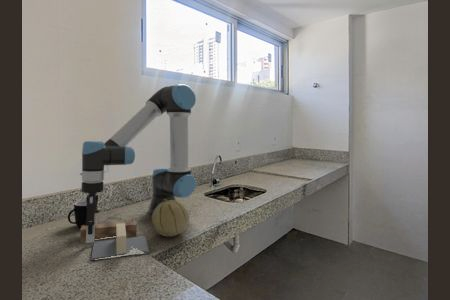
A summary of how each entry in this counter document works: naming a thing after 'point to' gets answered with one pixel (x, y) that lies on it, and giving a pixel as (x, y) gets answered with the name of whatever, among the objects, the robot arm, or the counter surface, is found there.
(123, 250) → the fulcrum
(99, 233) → the beam
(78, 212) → the mug
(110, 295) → the counter surface
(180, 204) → the cantaloupe
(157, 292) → the counter surface
